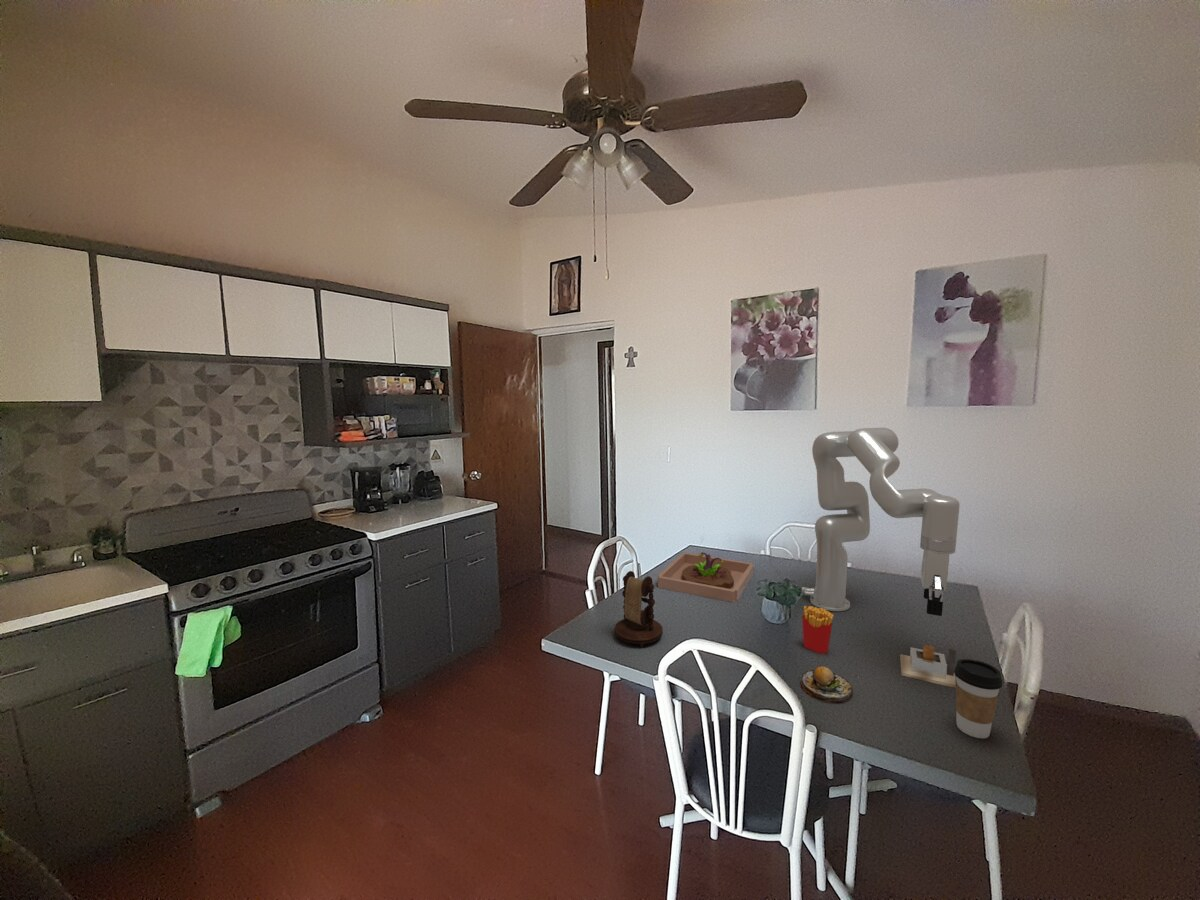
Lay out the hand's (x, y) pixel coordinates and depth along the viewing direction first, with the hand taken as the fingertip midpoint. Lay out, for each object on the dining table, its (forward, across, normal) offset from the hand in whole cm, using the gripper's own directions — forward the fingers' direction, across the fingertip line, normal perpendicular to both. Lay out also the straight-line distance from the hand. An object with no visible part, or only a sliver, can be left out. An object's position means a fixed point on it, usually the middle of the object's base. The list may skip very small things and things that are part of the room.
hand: (932, 606), depth 129 cm
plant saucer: (+19, -32, -70) cm, 79 cm away
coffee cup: (+18, +21, +7) cm, 29 cm away
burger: (+19, +20, -23) cm, 36 cm away
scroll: (+19, +19, -76) cm, 80 cm away
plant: (+19, -32, -70) cm, 79 cm away
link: (+17, 0, 0) cm, 17 cm away
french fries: (+19, +2, -27) cm, 33 cm away
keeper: (+18, 0, 0) cm, 18 cm away
